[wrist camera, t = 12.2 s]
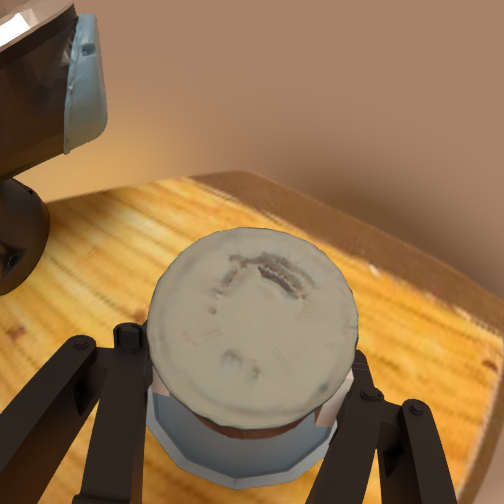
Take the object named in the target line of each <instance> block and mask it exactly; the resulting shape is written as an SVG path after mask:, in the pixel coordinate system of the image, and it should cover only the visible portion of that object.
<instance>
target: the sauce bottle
mask: <svg viewBox="0 0 504 504" xmlns="http://www.w3.org/2000/svg"><path fill="white" fill-rule="evenodd" d="M147 339H148V344H149V349H150V358H151V361H152V364H153V367H154V368H155V370H156V371H157V373H158V376H159V378H160V379H161V381H162V382H163V384H164V385H165V387H166V388H167V390H168V391H169V392H170V393H171V394H172V395H173V396H174V397H175V399H176V400H177V401H178V402H180V403H181V404H182V405H183V406H184V407H185V408H187V409H188V410H189V411H191V412H192V413H193V414H194V415H195V416H196V418H197V419H198V420H200V421H201V422H202V423H203V424H204V425H205V426H207V427H209V428H210V429H212V430H213V431H216V432H218V433H220V434H222V435H225V436H227V437H229V438H237V439H241V440H243V439H244V440H259V439H267V438H272V437H276V436H279V435H281V434H283V433H286V432H287V431H289V430H291V429H294V428H296V426H298V424H299V423H301V422H302V421H303V420H304V419H306V417H307V416H309V415H310V414H311V413H313V412H314V411H315V410H317V409H318V408H319V407H321V406H322V405H323V404H324V403H326V402H327V401H328V400H330V399H331V398H332V397H333V396H334V394H335V393H336V392H337V390H338V389H339V388H340V387H341V385H342V384H343V382H344V381H345V379H346V377H347V375H348V373H349V371H350V370H351V367H352V364H353V361H354V357H355V352H356V347H357V343H358V339H359V338H358V311H357V308H356V304H355V301H354V297H353V293H352V290H351V289H350V287H349V286H348V284H347V282H346V280H345V278H344V276H343V274H342V272H341V270H340V269H339V268H338V267H337V266H336V265H335V264H334V263H333V262H332V261H331V260H330V259H329V258H328V256H327V255H326V254H325V253H324V252H323V251H321V250H319V249H318V248H317V247H316V246H315V245H313V244H312V243H310V242H308V241H306V240H304V239H301V238H298V237H295V236H293V235H290V234H288V233H285V232H280V231H276V230H272V229H267V228H251V227H238V228H234V229H230V230H225V231H217V232H214V233H212V234H210V235H208V236H206V237H204V238H201V239H199V240H198V241H196V242H195V243H193V244H192V245H190V246H189V247H188V248H186V249H185V250H184V251H182V252H181V253H180V254H179V255H178V257H177V258H176V259H175V260H174V261H173V262H172V263H171V264H170V266H169V267H168V269H167V270H166V272H165V273H164V274H163V275H162V276H161V277H160V279H159V280H158V282H157V285H156V288H155V290H154V293H153V296H152V300H151V304H150V308H149V312H148V320H147Z"/></svg>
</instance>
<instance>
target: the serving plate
mask: <svg viewBox="0 0 504 504" xmlns="http://www.w3.org/2000/svg"><path fill="white" fill-rule="evenodd" d="M146 425H147V427H148V428H149V430H150V431H151V432H152V434H153V435H154V436H155V438H156V439H157V441H158V442H159V443H160V444H161V446H162V447H163V448H164V450H165V451H166V452H167V454H168V455H169V456H170V457H171V459H172V460H173V461H174V462H175V464H176V465H177V466H178V467H180V466H181V467H180V469H182V470H185V471H187V472H189V473H192V474H194V475H196V476H199V477H201V478H204V479H206V480H209V481H211V482H214V483H216V484H219V485H222V486H224V487H227V488H230V489H233V490H234V488H235V490H239V489H248V488H255V487H262V486H269V485H275V484H281V483H286V482H292V479H293V480H295V479H297V478H298V477H299V476H301V475H302V474H303V473H305V472H306V471H307V470H308V469H310V468H311V467H312V466H313V465H315V464H316V463H317V462H318V461H319V460H321V459H322V458H323V457H324V456H325V455H326V453H327V450H328V447H329V445H328V444H329V442H330V440H331V438H332V436H333V434H334V432H335V430H336V428H337V420H336V421H335V423H334V425H333V427H332V428H330V427H321V426H315V422H314V412H313V413H311V414H310V415H309V416H307V417H306V419H304V420H303V421H302V422H301V423H299V424H298V426H296V428H294V429H291V430H289V431H287V432H286V433H283V434H281V435H279V436H276V437H272V438H267V439H259V440H244V439H243V440H241V439H237V438H229V437H227V436H225V435H222V434H220V433H218V432H216V431H213V430H212V429H210V428H209V427H207V426H205V425H204V424H203V423H202V422H201V421H200V420H198V419H197V418H196V416H195V415H194V414H193V413H192V412H191V411H189V410H188V409H187V408H185V407H184V406H183V405H182V404H181V403H180V402H178V401H177V400H176V399H175V397H174V396H173V395H172V394H171V395H170V397H168V396H165V395H161V394H158V393H154V392H152V384H151V385H150V387H149V389H148V405H147V417H146Z"/></svg>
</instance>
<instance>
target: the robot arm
mask: <svg viewBox="0 0 504 504" xmlns="http://www.w3.org/2000/svg"><path fill="white" fill-rule="evenodd" d="M106 124H107V103H106V93H105V84H104V76H103V67H102V58H101V49H100V40H99V32H98V27H97V19H96V16H95V14H93V13H87V14H86V13H82V14H80V15H79V16H77V15H76V12H75V8H74V4H73V1H72V0H0V295H2V294H5V293H7V292H9V291H11V290H12V289H14V288H15V287H17V286H18V285H19V284H20V283H21V282H22V281H23V280H24V279H25V278H26V277H27V276H28V275H29V273H30V272H31V271H32V269H33V268H34V266H35V265H36V263H37V262H38V260H39V258H40V256H41V254H42V252H43V249H44V247H45V244H46V241H47V237H48V232H49V214H48V210H47V208H46V206H45V204H44V202H43V201H42V200H41V199H40V197H39V196H38V194H37V193H36V192H35V191H34V190H32V189H31V188H29V187H28V186H25V185H23V184H22V183H21V182H19V181H17V180H16V179H14V178H12V177H14V176H16V175H18V174H20V173H22V172H24V171H25V170H28V169H30V168H32V167H34V166H36V165H38V164H40V163H42V162H45V161H47V160H49V159H51V158H53V157H56V156H58V155H60V154H62V153H64V154H65V155H67V154H68V153H70V151H71V150H72V149H74V148H76V147H78V146H81V145H83V144H85V143H87V142H90V141H92V140H94V139H96V138H97V137H99V136H100V135H101V134H102V132H103V131H104V129H105V127H106ZM147 320H148V319H147ZM147 320H146V321H145V323H144V324H143V325H142V326H141V325H139V324H137V323H122V324H119V325H117V326H115V328H114V329H113V335H114V348H102V347H96V341H95V340H94V339H93V338H91V337H89V336H86V335H76V336H73V337H71V338H69V339H68V340H67V341H66V342H65V343H64V344H63V345H62V346H61V347H60V348H59V349H58V350H57V351H56V352H55V354H54V355H53V356H52V357H51V358H50V359H49V360H48V361H47V362H46V363H45V364H44V365H43V366H42V368H41V369H40V370H39V371H38V372H37V373H36V374H35V375H34V376H33V377H32V378H31V380H30V381H29V382H28V383H27V384H26V385H25V386H24V387H23V389H22V390H21V391H20V392H19V393H18V394H17V395H16V396H15V398H14V399H13V400H12V401H11V402H10V403H9V405H8V406H7V407H6V408H5V409H4V410H3V412H2V413H1V414H0V504H37V503H38V501H39V500H40V498H41V496H42V494H43V492H44V491H45V489H46V487H47V485H48V484H49V482H50V480H51V478H52V477H53V475H54V473H55V471H56V470H57V468H58V466H59V465H60V463H61V461H62V459H63V458H64V456H65V454H66V453H67V451H68V449H69V448H70V446H71V444H72V443H73V441H74V439H75V438H76V436H77V434H78V433H79V431H80V429H81V428H82V426H83V424H84V423H85V421H86V420H87V418H88V416H89V415H90V413H91V412H92V410H93V408H94V407H95V405H96V404H97V402H98V400H99V399H100V401H99V405H98V409H97V413H96V417H95V421H94V426H93V430H92V435H91V439H90V444H89V449H88V453H87V458H86V464H85V469H84V474H83V480H82V486H81V491H80V493H79V494H77V495H75V496H74V498H73V501H72V504H142V482H143V460H144V443H145V429H146V417H147V405H148V389H149V387H150V385H151V384H152V392H154V393H158V394H161V395H165V396H168V397H170V395H171V393H170V392H169V391H168V390H167V388H166V387H165V385H164V384H163V382H162V381H161V379H160V378H159V376H158V373H157V371H156V370H155V368H154V367H153V364H152V361H151V358H150V349H149V344H148V339H147ZM367 364H368V363H367V359H366V356H365V355H364V354H363V353H362V352H361V351H360V350H356V352H355V357H354V361H353V364H352V367H351V370H350V371H349V373H348V375H347V377H346V379H345V381H344V382H343V384H342V385H341V387H340V388H339V389H338V390H337V392H336V393H335V394H334V396H333V397H332V398H331V399H330V400H328V401H327V402H326V403H324V404H323V405H322V406H321V407H319V408H318V409H317V410H315V411H314V422H315V426H321V427H330V428H332V427H333V425H334V423H335V421H336V420H337V428H336V430H335V432H334V434H333V436H332V438H331V440H330V442H329V444H328V445H329V447H328V450H327V453H326V455H325V458H324V460H323V463H322V465H321V468H320V470H319V473H318V475H317V477H316V480H315V482H314V484H313V487H312V489H311V491H310V494H309V496H308V498H307V500H306V502H305V504H362V502H363V499H364V495H365V491H366V488H367V484H368V480H369V476H370V472H371V467H372V463H373V459H374V454H375V449H377V454H378V463H379V474H380V486H381V499H382V504H457V500H456V496H455V492H454V487H453V483H452V480H451V476H450V472H449V468H448V465H447V461H446V457H445V454H444V451H443V447H442V444H441V440H440V437H439V434H438V431H437V428H436V425H435V421H434V418H433V415H432V412H431V410H430V408H429V406H428V405H427V404H425V403H424V402H422V401H420V400H417V399H408V400H406V401H404V403H403V404H402V406H400V405H396V404H393V403H390V402H387V401H385V400H384V395H383V394H382V392H381V391H380V390H378V389H377V388H375V387H374V384H373V380H372V377H371V373H370V370H369V366H368V365H367Z"/></svg>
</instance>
